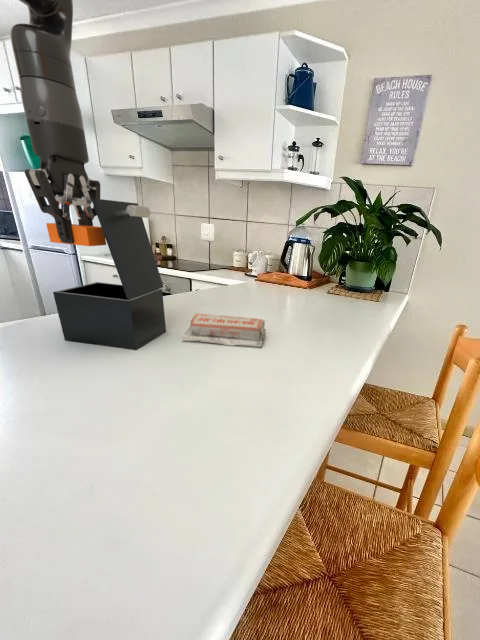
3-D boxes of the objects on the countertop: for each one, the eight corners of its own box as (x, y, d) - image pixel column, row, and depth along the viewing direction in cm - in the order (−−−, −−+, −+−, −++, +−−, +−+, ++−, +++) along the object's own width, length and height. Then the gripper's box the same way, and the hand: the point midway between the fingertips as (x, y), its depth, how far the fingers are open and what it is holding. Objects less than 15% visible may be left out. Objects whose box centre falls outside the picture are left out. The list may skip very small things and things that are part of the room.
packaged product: (267, 315, 78) (262, 327, 69) (265, 334, 80) (261, 348, 71) (192, 309, 77) (178, 320, 69) (193, 328, 80) (180, 341, 71)
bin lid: (91, 199, 53) (117, 193, 52) (134, 204, 64) (156, 199, 63) (127, 299, 60) (151, 295, 59) (160, 287, 71) (181, 284, 70)
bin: (64, 340, 66) (52, 292, 62) (104, 324, 77) (96, 281, 73) (136, 350, 65) (129, 301, 60) (166, 331, 76) (162, 289, 71)
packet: (50, 242, 57) (45, 223, 55) (69, 241, 61) (66, 223, 59) (89, 246, 56) (86, 227, 54) (106, 245, 60) (103, 227, 58)
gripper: (68, 133, 57) (87, 238, 65) (-10, 107, 44) (25, 241, 52) (107, 136, 56) (122, 242, 64) (39, 110, 44) (67, 246, 51)
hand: (78, 241), depth 58 cm, fingers closed on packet, 4 cm apart
